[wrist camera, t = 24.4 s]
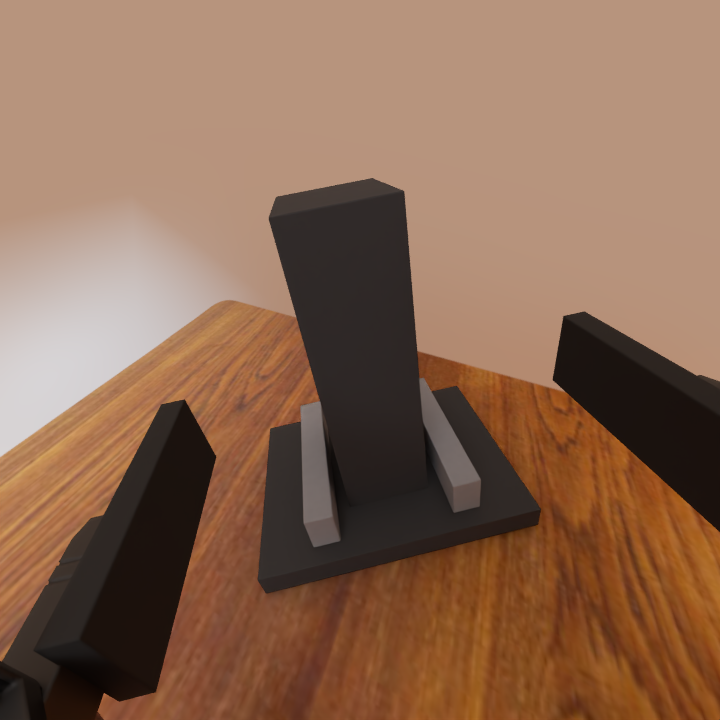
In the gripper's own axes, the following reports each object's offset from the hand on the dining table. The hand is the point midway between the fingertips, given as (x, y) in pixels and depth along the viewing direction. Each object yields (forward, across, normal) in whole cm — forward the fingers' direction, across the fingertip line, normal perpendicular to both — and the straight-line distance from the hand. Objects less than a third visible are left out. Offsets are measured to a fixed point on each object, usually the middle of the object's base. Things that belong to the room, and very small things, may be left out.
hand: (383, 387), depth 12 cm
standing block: (+7, 0, -11) cm, 13 cm away
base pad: (+7, 0, -13) cm, 15 cm away
